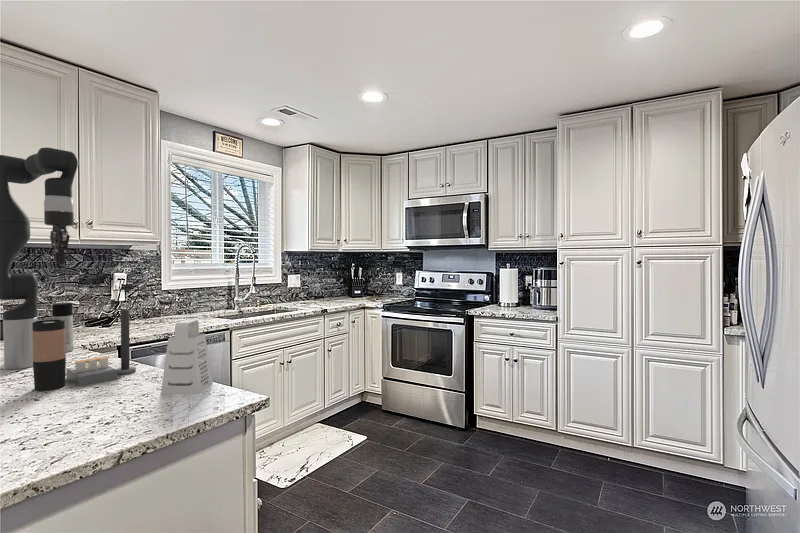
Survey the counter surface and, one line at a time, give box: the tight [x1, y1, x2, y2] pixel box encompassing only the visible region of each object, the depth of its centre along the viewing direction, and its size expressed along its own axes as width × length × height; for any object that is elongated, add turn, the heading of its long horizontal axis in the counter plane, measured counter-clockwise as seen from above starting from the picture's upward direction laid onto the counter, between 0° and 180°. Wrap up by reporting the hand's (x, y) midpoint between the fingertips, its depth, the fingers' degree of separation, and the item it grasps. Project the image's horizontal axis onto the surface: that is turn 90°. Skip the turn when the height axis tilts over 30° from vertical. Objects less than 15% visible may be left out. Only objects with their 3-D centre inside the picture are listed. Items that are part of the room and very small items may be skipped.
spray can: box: [51, 302, 74, 353], centre depth 177 cm, size 7×7×20 cm
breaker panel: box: [66, 363, 118, 387], centre depth 138 cm, size 14×10×3 cm
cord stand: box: [115, 309, 137, 376], centre depth 145 cm, size 6×6×21 cm
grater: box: [160, 319, 214, 395], centre depth 128 cm, size 10×10×20 cm
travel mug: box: [32, 319, 67, 392], centre depth 128 cm, size 8×8×20 cm
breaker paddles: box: [75, 356, 109, 372], centre depth 137 cm, size 1×8×3 cm, turn 141°
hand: (60, 263), depth 141 cm, fingers closed
